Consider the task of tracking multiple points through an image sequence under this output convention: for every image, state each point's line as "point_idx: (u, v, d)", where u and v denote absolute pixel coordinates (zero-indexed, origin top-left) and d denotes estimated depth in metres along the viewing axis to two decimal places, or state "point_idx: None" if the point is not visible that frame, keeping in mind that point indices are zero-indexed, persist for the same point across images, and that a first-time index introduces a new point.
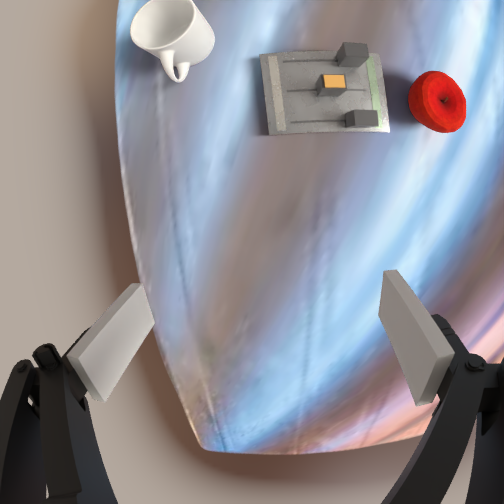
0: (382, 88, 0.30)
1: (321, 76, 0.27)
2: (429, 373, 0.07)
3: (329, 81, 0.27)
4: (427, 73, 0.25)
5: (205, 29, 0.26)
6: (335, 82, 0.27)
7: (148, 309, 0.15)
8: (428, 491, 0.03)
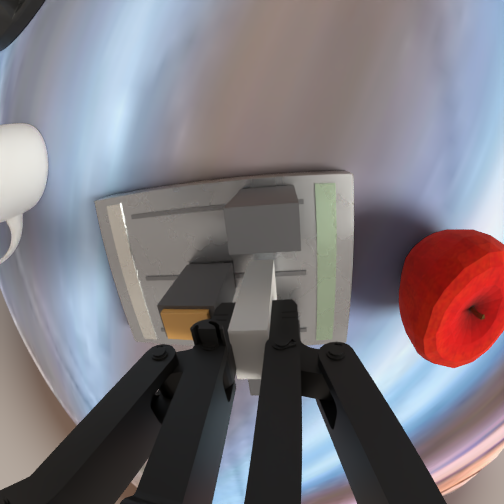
0: (346, 263, 0.17)
1: (160, 309, 0.13)
2: (249, 346, 0.10)
3: (174, 327, 0.13)
4: (461, 258, 0.11)
5: None
6: (188, 330, 0.13)
7: None
8: (280, 468, 0.05)
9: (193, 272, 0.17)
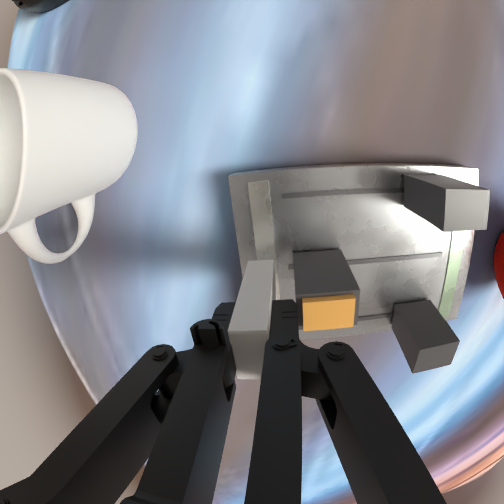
0: (468, 245, 0.16)
1: (297, 299, 0.13)
2: (249, 346, 0.10)
3: (315, 317, 0.12)
4: None
5: (88, 138, 0.12)
6: (330, 318, 0.12)
7: None
8: (280, 468, 0.05)
9: (308, 260, 0.16)
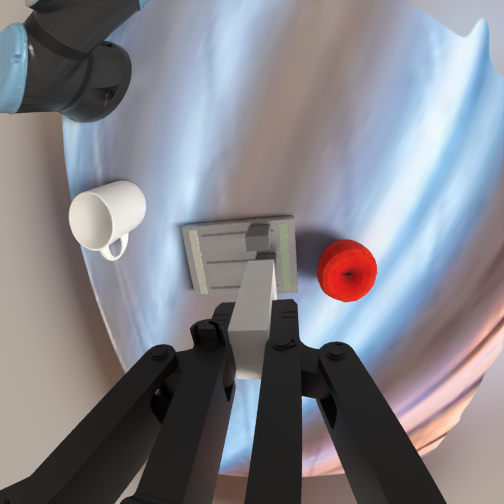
0: (293, 255, 0.42)
1: None
2: (249, 346, 0.10)
3: None
4: (334, 252, 0.36)
5: (129, 216, 0.38)
6: None
7: None
8: (280, 468, 0.05)
9: (261, 257, 0.41)
